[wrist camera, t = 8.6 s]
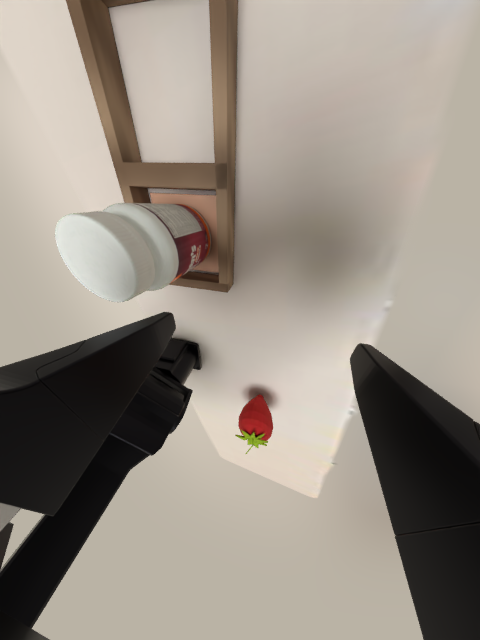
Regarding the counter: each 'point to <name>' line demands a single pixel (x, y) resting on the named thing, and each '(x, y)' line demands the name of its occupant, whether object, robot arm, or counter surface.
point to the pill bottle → (132, 247)
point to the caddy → (135, 177)
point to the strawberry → (256, 422)
